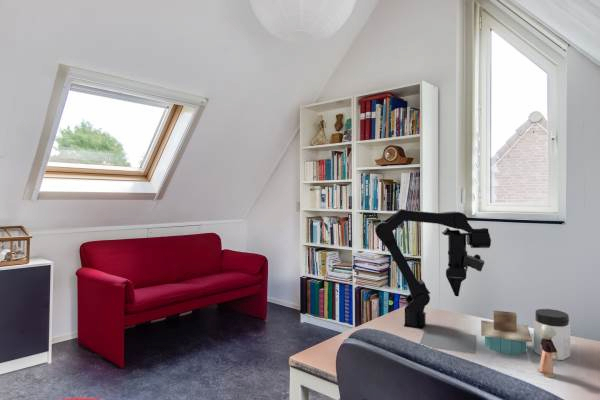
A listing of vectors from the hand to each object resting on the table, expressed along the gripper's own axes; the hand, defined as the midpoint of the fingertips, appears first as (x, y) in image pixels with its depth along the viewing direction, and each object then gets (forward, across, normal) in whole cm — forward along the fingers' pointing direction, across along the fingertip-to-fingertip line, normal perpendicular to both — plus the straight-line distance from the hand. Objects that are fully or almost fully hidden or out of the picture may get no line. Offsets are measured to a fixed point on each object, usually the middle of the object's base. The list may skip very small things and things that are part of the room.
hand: (457, 292), depth 139 cm
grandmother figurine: (+12, -29, -23) cm, 39 cm away
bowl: (+12, -14, -14) cm, 23 cm away
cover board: (+7, -14, -14) cm, 21 cm away
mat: (+12, -15, +2) cm, 19 cm away
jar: (+12, -14, -26) cm, 32 cm away
